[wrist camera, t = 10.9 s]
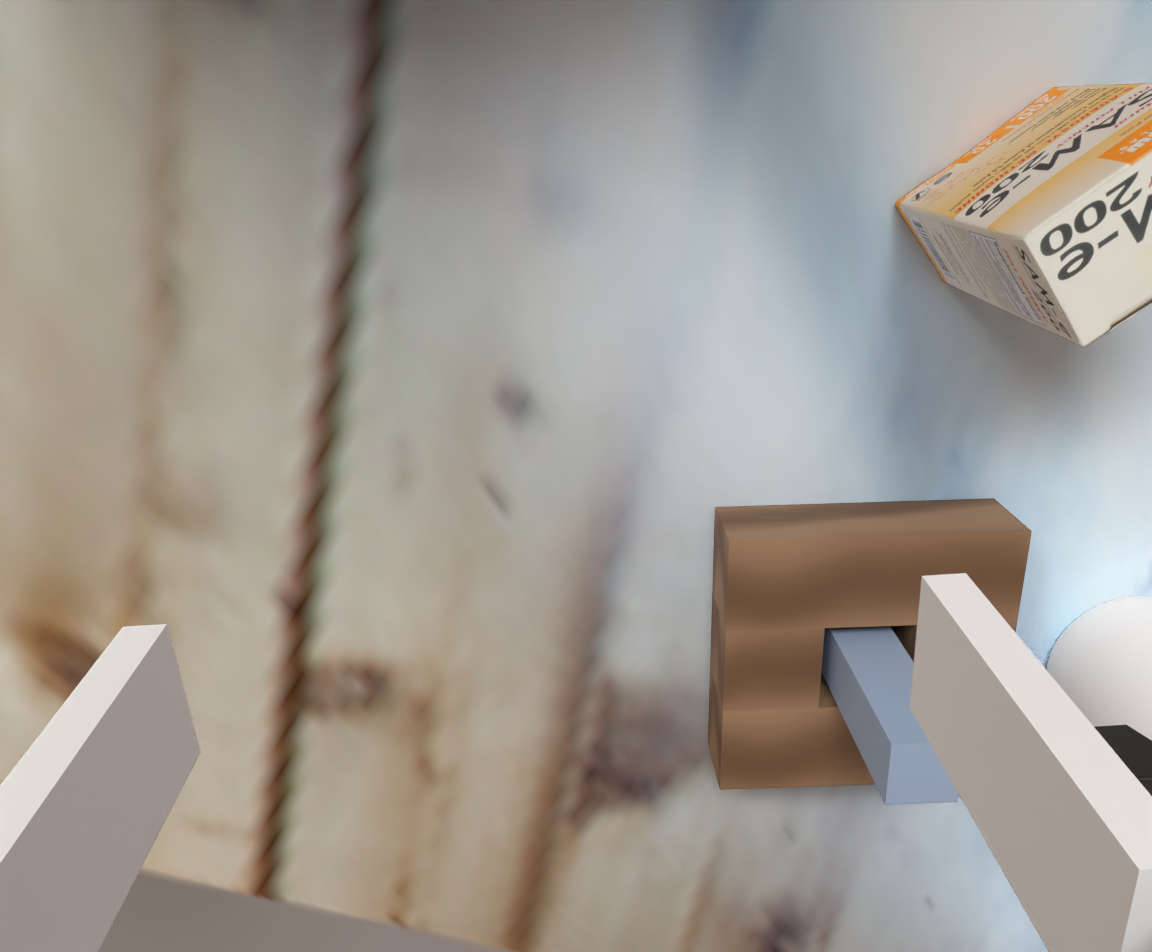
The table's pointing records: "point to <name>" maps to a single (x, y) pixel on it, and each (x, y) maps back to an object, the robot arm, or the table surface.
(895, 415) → the table surface
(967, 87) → the table surface
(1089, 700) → the mug
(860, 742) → the peg
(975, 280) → the supplement box
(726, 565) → the socket block
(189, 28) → the table surface
